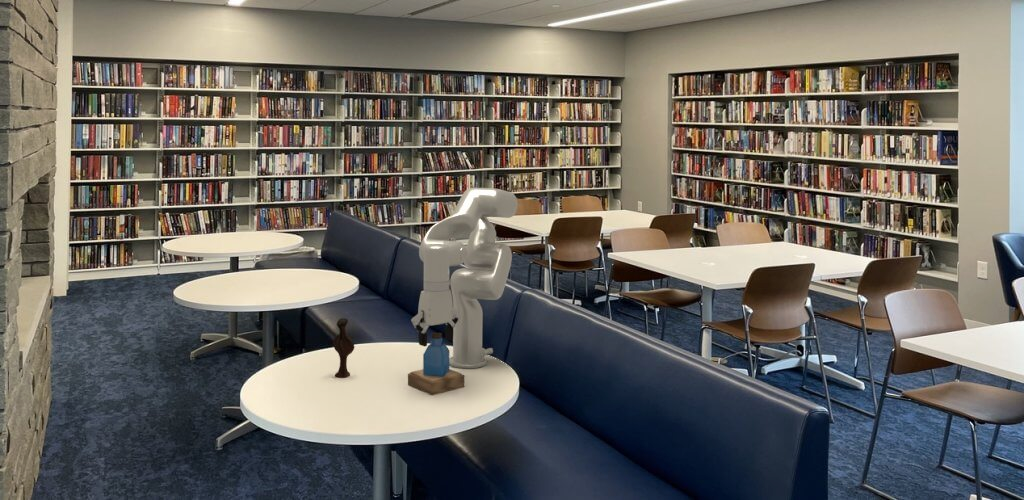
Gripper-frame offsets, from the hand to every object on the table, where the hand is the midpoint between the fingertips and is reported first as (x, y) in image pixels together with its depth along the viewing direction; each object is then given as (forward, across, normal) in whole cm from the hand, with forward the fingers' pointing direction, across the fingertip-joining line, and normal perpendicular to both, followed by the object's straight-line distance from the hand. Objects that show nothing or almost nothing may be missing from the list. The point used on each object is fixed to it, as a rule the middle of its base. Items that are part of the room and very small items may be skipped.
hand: (436, 342), depth 234 cm
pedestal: (+13, 0, 0) cm, 13 cm away
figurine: (+14, +16, -26) cm, 33 cm away
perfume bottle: (+10, 0, 0) cm, 10 cm away
